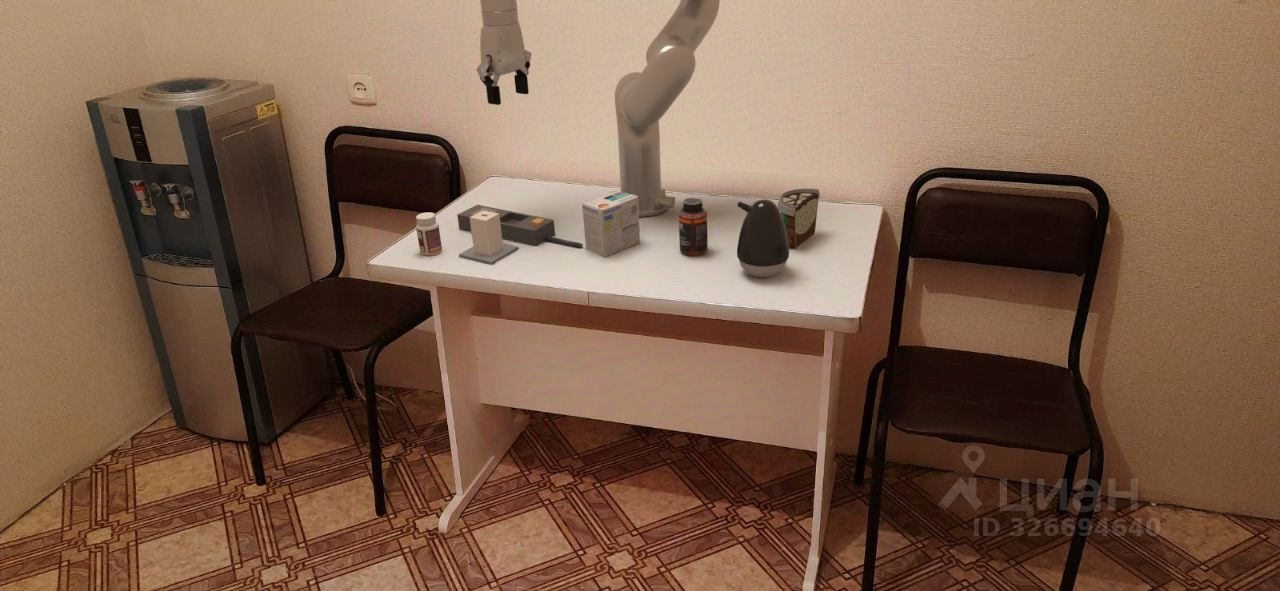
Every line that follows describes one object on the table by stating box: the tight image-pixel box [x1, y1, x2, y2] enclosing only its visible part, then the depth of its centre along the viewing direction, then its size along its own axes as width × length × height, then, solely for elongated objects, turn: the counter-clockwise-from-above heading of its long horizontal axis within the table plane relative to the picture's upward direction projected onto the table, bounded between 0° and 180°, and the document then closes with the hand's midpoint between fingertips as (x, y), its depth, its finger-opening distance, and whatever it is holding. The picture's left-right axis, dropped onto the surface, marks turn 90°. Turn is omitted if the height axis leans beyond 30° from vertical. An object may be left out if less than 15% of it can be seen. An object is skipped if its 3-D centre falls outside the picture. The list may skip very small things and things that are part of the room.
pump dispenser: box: [736, 199, 790, 278], centre depth 176 cm, size 10×10×15 cm
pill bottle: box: [415, 212, 443, 257], centre depth 194 cm, size 5×5×8 cm
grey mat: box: [458, 242, 519, 265], centre depth 193 cm, size 9×9×1 cm
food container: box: [776, 188, 821, 250], centre depth 191 cm, size 12×6×10 cm, turn 145°
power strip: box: [456, 204, 584, 249], centre depth 200 cm, size 32×7×4 cm, turn 59°
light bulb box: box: [581, 189, 641, 258], centre depth 192 cm, size 11×7×11 cm, turn 134°
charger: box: [470, 211, 504, 256], centre depth 191 cm, size 4×4×8 cm
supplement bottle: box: [678, 197, 709, 257], centre depth 187 cm, size 6×6×11 cm
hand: (508, 98), depth 198 cm, fingers open, 9 cm apart
